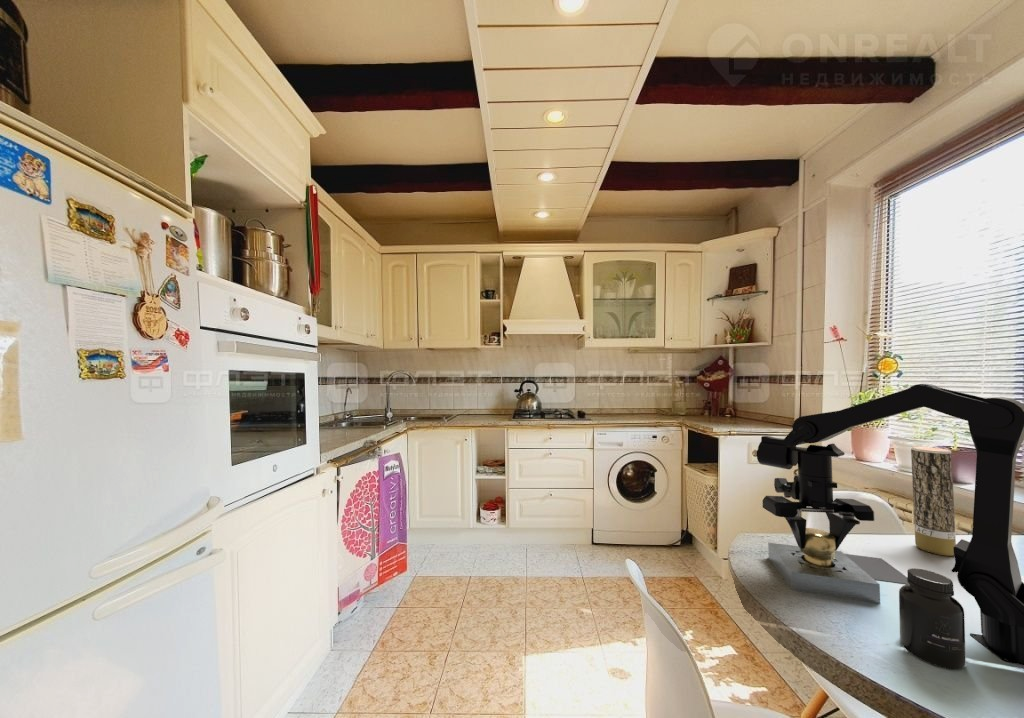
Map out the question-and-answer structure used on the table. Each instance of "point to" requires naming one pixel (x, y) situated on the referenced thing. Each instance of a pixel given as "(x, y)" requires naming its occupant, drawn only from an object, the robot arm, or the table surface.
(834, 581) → the housing
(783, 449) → the robot arm
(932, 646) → the supplement bottle
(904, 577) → the rubber mat
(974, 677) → the table surface
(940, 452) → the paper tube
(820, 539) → the end cover
